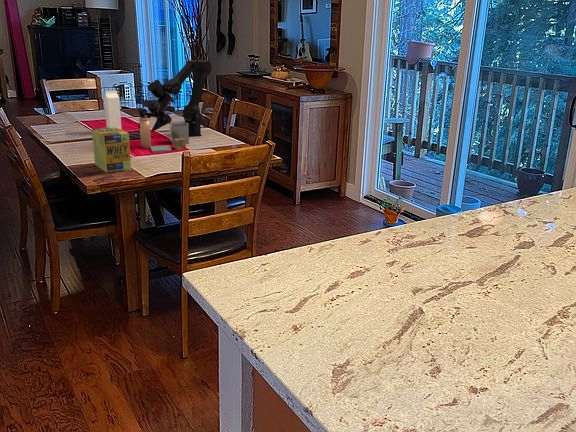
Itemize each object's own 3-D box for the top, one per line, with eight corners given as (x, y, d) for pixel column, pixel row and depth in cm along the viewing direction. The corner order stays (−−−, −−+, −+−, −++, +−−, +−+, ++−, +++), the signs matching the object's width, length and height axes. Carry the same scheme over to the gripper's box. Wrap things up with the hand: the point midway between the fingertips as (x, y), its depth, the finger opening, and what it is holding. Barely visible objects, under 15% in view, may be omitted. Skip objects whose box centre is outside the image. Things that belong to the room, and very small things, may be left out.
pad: (169, 146, 270) (169, 145, 269) (171, 151, 262) (171, 149, 261) (150, 147, 267) (150, 146, 266) (152, 152, 259) (152, 150, 258)
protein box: (107, 173, 225) (103, 135, 220) (94, 164, 237) (91, 128, 231) (132, 169, 231) (129, 133, 226) (118, 161, 243) (115, 126, 237)
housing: (186, 139, 285) (185, 121, 281) (188, 143, 278) (188, 124, 274) (169, 140, 282) (168, 121, 279) (171, 144, 275) (171, 124, 272)
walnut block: (182, 146, 271) (181, 137, 269) (185, 148, 267) (185, 139, 266) (173, 147, 268) (173, 138, 267) (177, 149, 265) (176, 140, 263)
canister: (150, 145, 272) (149, 117, 267) (151, 147, 268) (150, 118, 263) (140, 145, 271) (138, 117, 266) (141, 147, 266) (139, 119, 262)
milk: (121, 133, 294) (118, 91, 287) (110, 134, 291) (106, 91, 283) (118, 131, 299) (115, 89, 291) (106, 132, 296) (103, 90, 288)
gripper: (138, 91, 270) (122, 116, 265) (166, 95, 260) (149, 122, 255) (151, 105, 279) (136, 130, 274) (178, 110, 269) (163, 136, 264)
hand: (145, 129), depth 267 cm, fingers open, 9 cm apart
